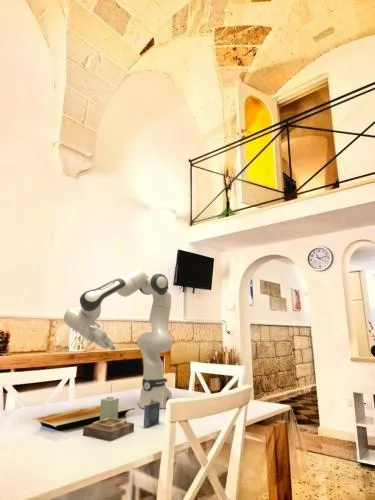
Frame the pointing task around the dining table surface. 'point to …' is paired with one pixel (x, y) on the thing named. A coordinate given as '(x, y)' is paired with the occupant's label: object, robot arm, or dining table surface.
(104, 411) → the pillar
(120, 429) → the base
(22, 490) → the dining table surface
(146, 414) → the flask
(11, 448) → the dining table surface
